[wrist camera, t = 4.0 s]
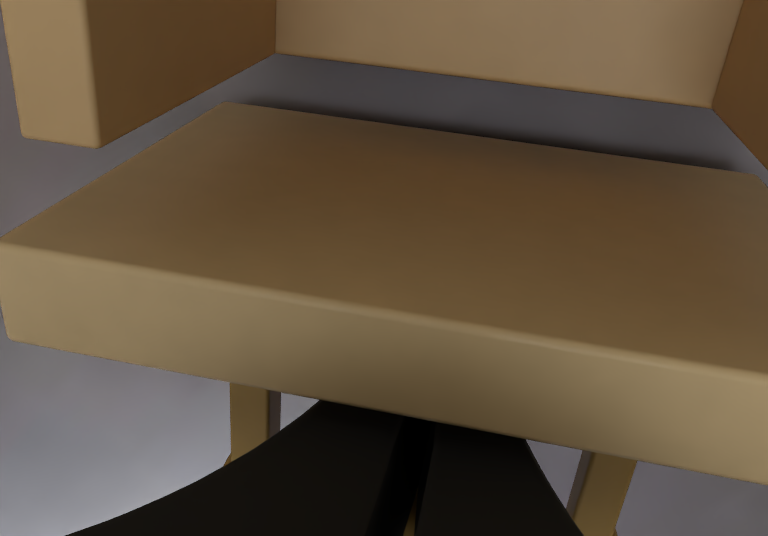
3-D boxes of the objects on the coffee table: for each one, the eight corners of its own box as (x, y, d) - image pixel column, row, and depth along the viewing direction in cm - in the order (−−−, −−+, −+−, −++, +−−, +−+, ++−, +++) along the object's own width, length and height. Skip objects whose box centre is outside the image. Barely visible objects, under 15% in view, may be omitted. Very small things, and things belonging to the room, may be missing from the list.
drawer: (659, 454, 14) (738, 791, 9) (228, 372, 15) (61, 625, 10) (929, -312, 8) (1638, -712, 3) (212, -349, 9) (-201, -686, 4)
